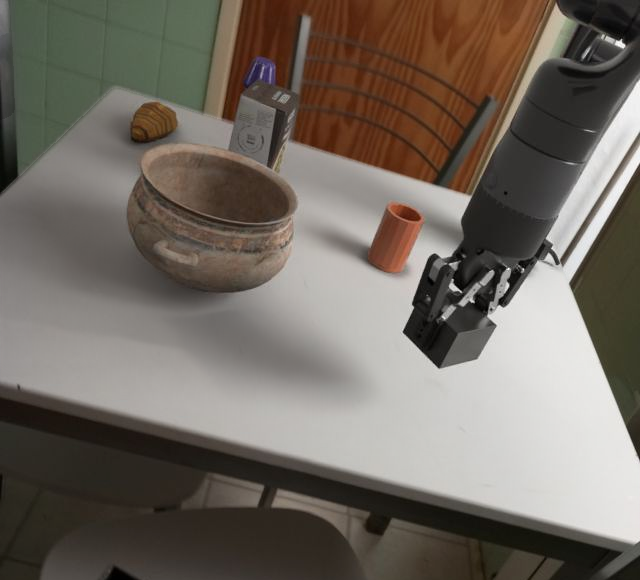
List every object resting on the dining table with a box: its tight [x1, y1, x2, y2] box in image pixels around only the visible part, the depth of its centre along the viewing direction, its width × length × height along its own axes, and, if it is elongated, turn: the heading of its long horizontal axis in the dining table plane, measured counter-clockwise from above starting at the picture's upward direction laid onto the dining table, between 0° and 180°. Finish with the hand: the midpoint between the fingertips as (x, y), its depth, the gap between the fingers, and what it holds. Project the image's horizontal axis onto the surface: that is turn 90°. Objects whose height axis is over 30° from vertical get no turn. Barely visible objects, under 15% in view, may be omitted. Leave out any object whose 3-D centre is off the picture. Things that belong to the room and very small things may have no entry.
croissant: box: [129, 101, 179, 144], centre depth 105 cm, size 14×7×5 cm, turn 165°
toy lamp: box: [242, 56, 276, 90], centre depth 101 cm, size 5×5×17 cm
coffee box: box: [227, 79, 301, 175], centre depth 93 cm, size 9×6×16 cm
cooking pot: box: [125, 142, 300, 294], centre depth 79 cm, size 25×19×12 cm
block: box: [402, 290, 498, 370], centre depth 70 cm, size 6×6×4 cm
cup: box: [366, 201, 426, 274], centre depth 97 cm, size 6×6×8 cm
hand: (442, 341), depth 71 cm, fingers closed on block, 6 cm apart
